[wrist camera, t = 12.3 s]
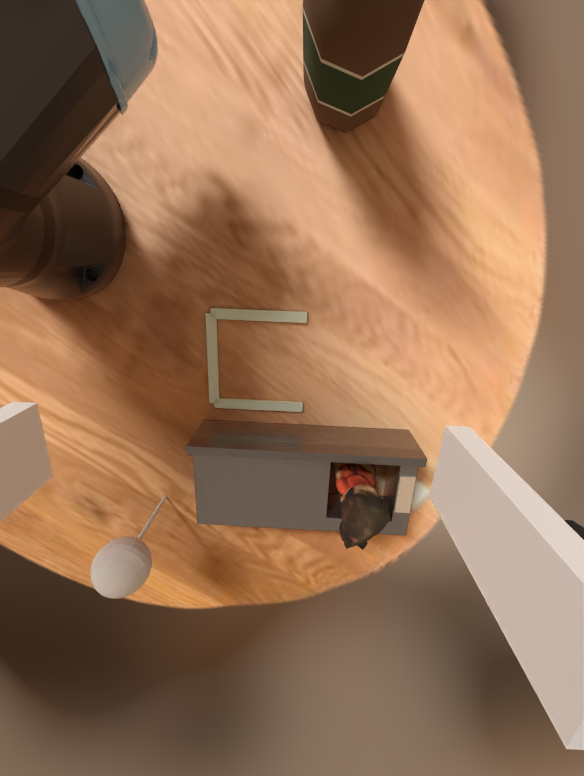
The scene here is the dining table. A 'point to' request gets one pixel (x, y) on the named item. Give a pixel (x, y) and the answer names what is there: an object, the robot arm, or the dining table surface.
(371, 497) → the figurine
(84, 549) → the dining table surface
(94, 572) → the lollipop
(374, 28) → the beer bottle
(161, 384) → the dining table surface
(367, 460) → the grey box with compartment
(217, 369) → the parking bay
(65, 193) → the robot arm
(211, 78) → the dining table surface
